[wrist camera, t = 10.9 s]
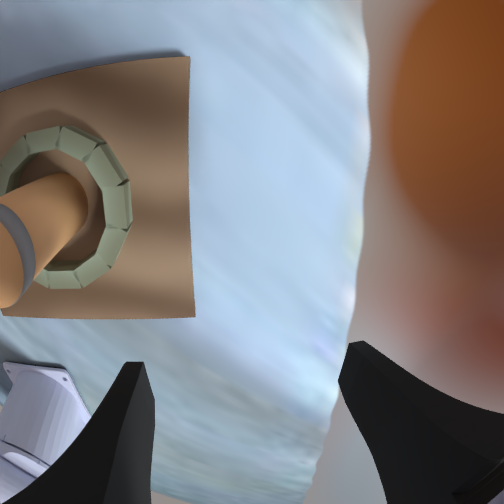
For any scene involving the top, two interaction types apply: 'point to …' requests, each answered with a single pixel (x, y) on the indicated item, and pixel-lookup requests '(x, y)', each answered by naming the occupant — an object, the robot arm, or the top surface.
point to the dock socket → (109, 187)
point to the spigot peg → (36, 229)
